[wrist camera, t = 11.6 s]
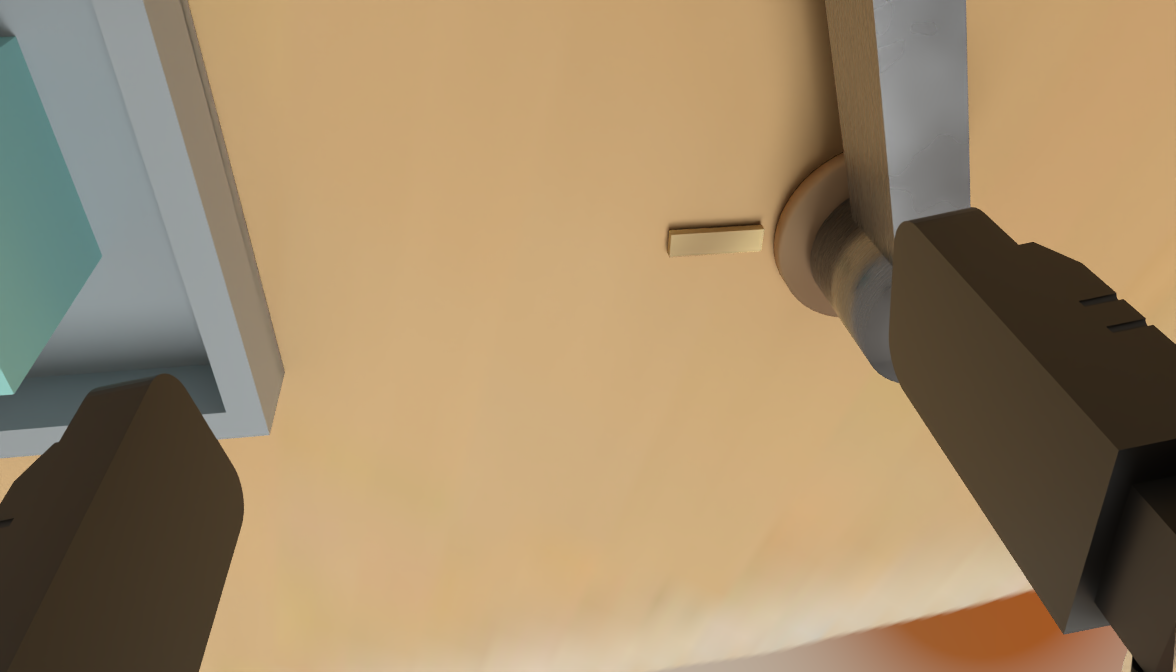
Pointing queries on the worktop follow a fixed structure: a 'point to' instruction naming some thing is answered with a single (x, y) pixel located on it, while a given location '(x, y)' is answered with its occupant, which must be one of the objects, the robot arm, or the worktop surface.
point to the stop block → (34, 224)
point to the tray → (143, 223)
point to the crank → (891, 149)
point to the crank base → (780, 233)
